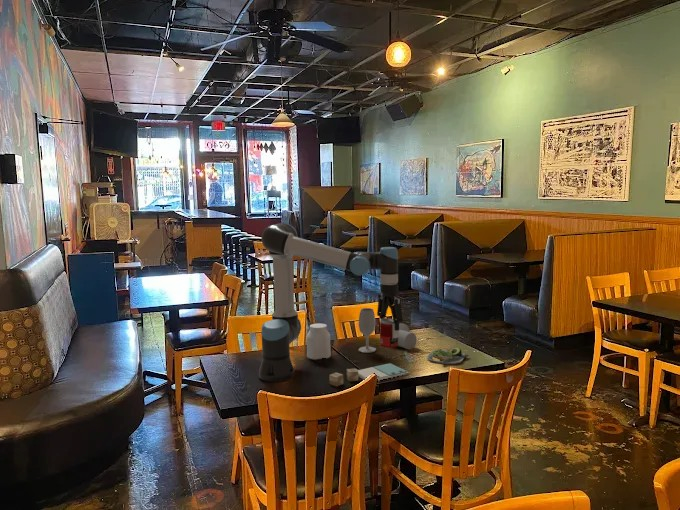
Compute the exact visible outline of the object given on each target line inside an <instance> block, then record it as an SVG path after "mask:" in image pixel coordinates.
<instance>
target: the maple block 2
mask: <svg viewBox="0 0 680 510" xmlns="http://www.w3.org/2000/svg"><path fill="white" fill-rule="evenodd" d="M357 370H358V369H357V368H346V379H347V381H348V382H356V381H357V382H358V381H359V377H358V371H357Z"/></svg>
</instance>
